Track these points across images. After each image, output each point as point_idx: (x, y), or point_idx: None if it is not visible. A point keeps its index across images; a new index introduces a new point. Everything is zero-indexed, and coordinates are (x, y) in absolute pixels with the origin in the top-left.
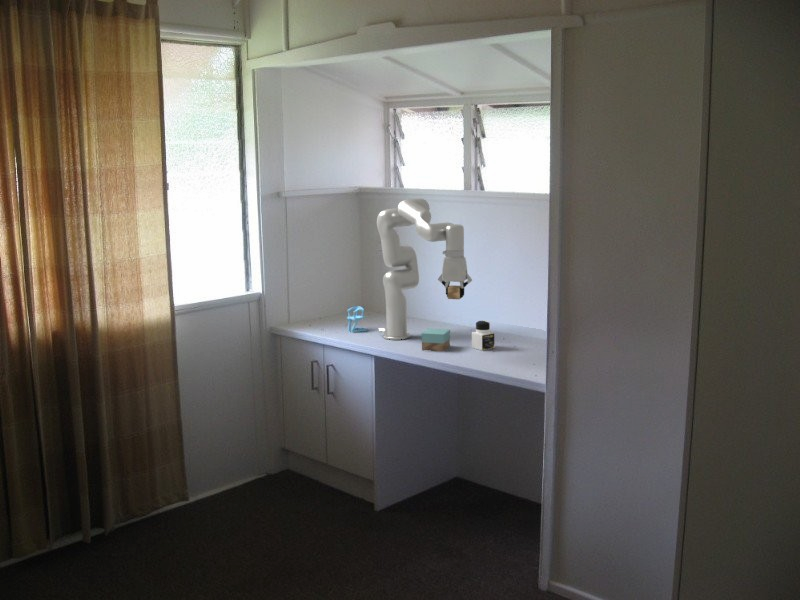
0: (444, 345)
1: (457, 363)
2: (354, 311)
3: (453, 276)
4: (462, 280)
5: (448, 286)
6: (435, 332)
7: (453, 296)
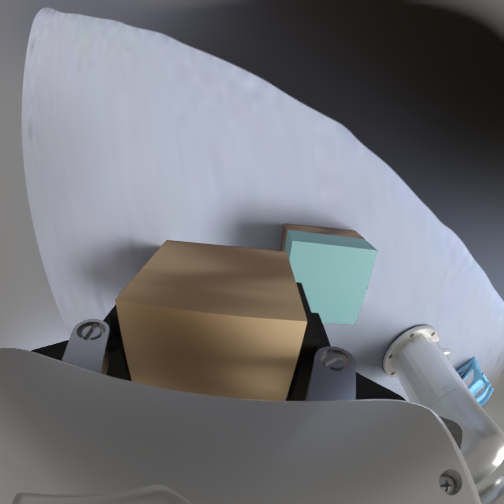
0: (285, 234)
1: (213, 75)
2: (489, 385)
3: (156, 494)
4: (2, 349)
5: (300, 369)
6: (328, 271)
7: (223, 255)
